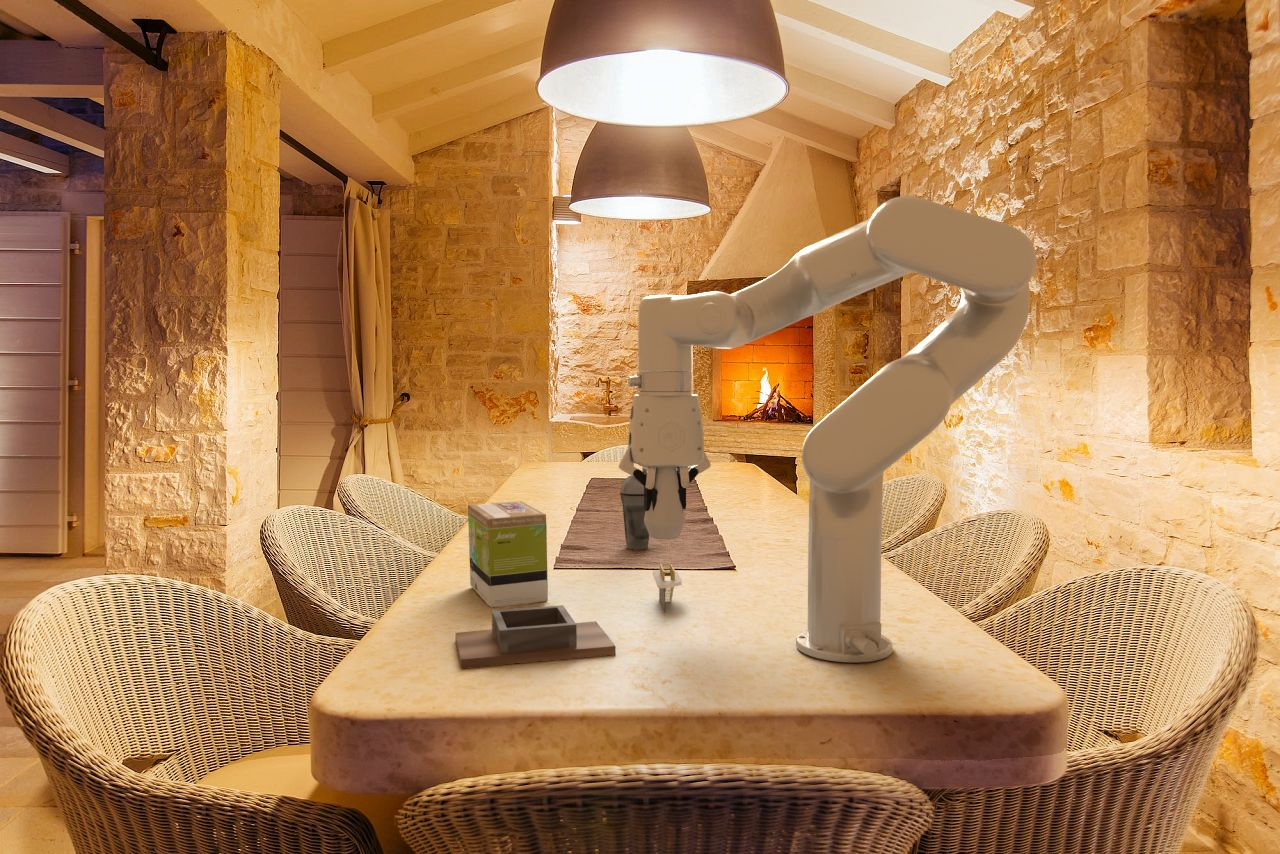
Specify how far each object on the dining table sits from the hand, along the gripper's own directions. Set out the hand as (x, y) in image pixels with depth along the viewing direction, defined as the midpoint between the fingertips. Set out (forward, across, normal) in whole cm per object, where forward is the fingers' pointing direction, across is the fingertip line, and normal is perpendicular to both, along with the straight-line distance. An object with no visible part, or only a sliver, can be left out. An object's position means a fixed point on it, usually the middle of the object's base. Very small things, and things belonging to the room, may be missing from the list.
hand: (665, 514), depth 126 cm
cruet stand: (+17, -19, -1) cm, 26 cm away
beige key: (+18, +5, +15) cm, 24 cm away
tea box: (+18, -19, +29) cm, 39 cm away
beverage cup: (+18, +12, +61) cm, 65 cm away
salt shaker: (+3, 0, 0) cm, 3 cm away
